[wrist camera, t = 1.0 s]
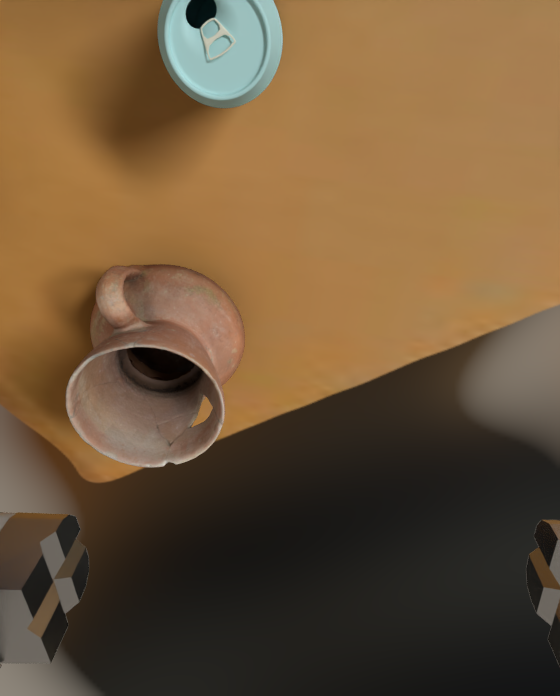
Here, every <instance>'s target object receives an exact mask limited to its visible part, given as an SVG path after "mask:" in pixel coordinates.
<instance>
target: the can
mask: <svg viewBox="0 0 560 696" xmlns="http://www.w3.org/2000/svg"><path fill="white" fill-rule="evenodd" d="M157 30H158V43H159V49H160V53H161V56H162V59H163V62H164V64H165V67H166V69H167V71H168V72H169V74H170V76H171V77H172V79H173V80H174V82H175V83H176V84H177V85H178V86H179V88H180V89H181V90H182V91H183V92H185V93H186V94H187V95H188V96H190V97H191V98H193V99H194V100H196V101H198V102H200V103H202V104H204V105H207V106H211V107H215V108H233V107H237V106H241V105H244V104H246V103H248V102H250V101H251V100H253V99H255V98H256V97H257V96H259V95H260V94H261V93H262V92H263V91H264V90H265V89H266V87H267V86H268V85H269V83H270V82H271V80H272V79H273V77H274V75H275V73H276V71H277V68H278V65H279V62H280V58H281V53H282V44H283V36H282V27H281V21H280V17H279V14H278V11H277V8H276V6H275V4H274V1H273V0H163V2H162V5H161V8H160V13H159V18H158V29H157Z"/></svg>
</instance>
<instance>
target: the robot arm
mask: <svg viewBox="0 0 560 696" xmlns="http://www.w3.org/2000/svg"><path fill="white" fill-rule="evenodd" d="M79 531H80V527H79V524H78V521H77V519H76V517H75V516H73V515H67V514H42V513H3V512H0V668H1V666H2V665H1V663H51V662H52V660H53V658H54V656H55V653H56V651H57V649H58V647H59V645H60V642H61V641H62V638H63V636H64V634H65V632H66V630H67V627H68V622H67V618H66V614H65V613H66V612H67V611H69V610H70V609H71V608H72V607H74V606H75V605H76V604H77V603H78V602H79V601H80V599H81V597H82V594H83V592H84V590H85V587H86V583H87V577H88V573H89V558H88V554H87V550H86V547H85V546H84V545H82V544H81V543H80V542H79V541H78V540H76V537H77V535H78V533H79ZM534 538H535V540H536V542H537V544H538V546H539V547H538V548H537V549H536V550H535V551H533V552H532V553H531V554H530V555H529V557H528V562H527V567H526V576H527V587H528V591H529V594H530V598H531V601H532V603H533V606H534V608H535V610H536V613H537V614H538V615H539V616H540V617H542V618H543V619H544V620H545V621H546V622H547V623H549V624H550V625H551V630H550V633H549V636H548V641H549V643H550V646H551V648H552V650H553V653H554V655H555V657H556V659H557V661H558V664H559V666H560V520H541V521H540V522H539V524H538V525H537V526H536V530H535V534H534Z"/></svg>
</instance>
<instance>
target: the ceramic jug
mask: <svg viewBox="0 0 560 696" xmlns="http://www.w3.org/2000/svg"><path fill="white" fill-rule="evenodd" d="M90 334H91V341H92V345H93V348H94V349H93V350H92V351H91V352H90V353H89V354H88V355H87V356H86V357H85V358H84V359H83V360H82V361H81V362H80V364H79V365H78V366H77V368H76V369H75V370H74V372H73V374H72V375H71V377H70V379H69V382H68V385H67V388H66V409H67V413H68V417H69V418H70V421H71V424H72V425H73V427H74V429H75V430H76V432H77V433H78V434H79V435H80V437H81V438H82V439H83V440H84V441H85V442H86V443H87V444H89V445H90V446H92V447H93V448H94V449H95V450H97V451H98V452H100V453H101V454H103V455H106V456H108V457H110V458H111V459H114V460H117V461H119V462H122V463H126V464H129V465H134V466H140V467H162V466H164V465H165V464H166V463H168V462H172V463H174V464H180V463H183V462H186V461H189V460H191V459H193V458H195V457H197V456H198V455H200V454H202V453H203V452H204V451H206V450H207V449H208V448H209V447H210V446H211V445H212V444H213V442H214V441H215V440H216V438H217V436H218V435H219V433H220V431H221V428H222V425H223V422H224V416H225V402H224V394H223V389H222V385H223V384H225V383H226V382H227V381H228V380H229V378H230V377H231V376H232V375H233V373H234V372H235V370H236V369H237V367H238V365H239V363H240V361H241V358H242V355H243V352H244V346H245V333H244V326H243V322H242V319H241V316H240V313H239V311H238V309H237V307H236V306H235V304H234V302H233V301H232V300H231V298H230V297H229V296H228V294H227V293H226V292H225V291H224V290H223V289H222V288H221V287H220V286H219V285H217V284H216V283H215V282H214V281H212V280H211V279H209V278H208V277H206V276H204V275H202V274H200V273H198V272H196V271H193V270H191V269H188V268H184V267H180V266H175V265H144V266H141V265H130V266H129V267H125V266H113V267H111V268H110V269H109V270H107V271H106V272H105V273H104V275H103V276H102V277H101V279H100V280H99V282H98V284H97V287H96V303H95V305H94V308H93V311H92V315H91V321H90ZM205 397H207V398H208V399H209V401H210V403H211V405H212V406H213V409H212V411H211V414H210V416H209V417H208V418H207V419H206V420H205V421H204V422H203V423H200V424H198V425H196V426H194V427H192V428H191V426H192V424H193V422H194V421H195V419H196V418H197V415H198V412H199V409H200V406H201V403H202V401H203V400H204V399H205Z"/></svg>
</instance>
